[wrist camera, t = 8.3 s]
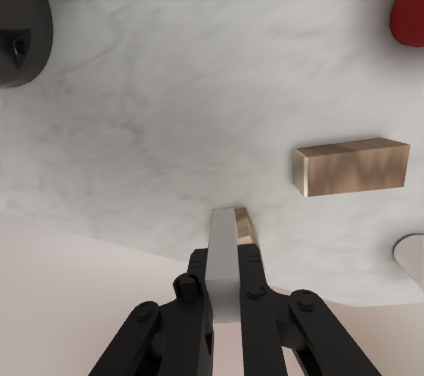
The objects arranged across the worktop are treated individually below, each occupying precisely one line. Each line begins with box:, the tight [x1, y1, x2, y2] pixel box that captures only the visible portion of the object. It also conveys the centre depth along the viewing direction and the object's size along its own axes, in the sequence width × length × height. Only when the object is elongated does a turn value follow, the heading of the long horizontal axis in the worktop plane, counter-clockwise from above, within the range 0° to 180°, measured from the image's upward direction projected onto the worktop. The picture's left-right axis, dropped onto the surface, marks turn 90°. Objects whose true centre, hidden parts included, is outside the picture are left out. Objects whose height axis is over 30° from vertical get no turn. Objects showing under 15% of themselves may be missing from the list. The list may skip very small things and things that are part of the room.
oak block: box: [208, 208, 265, 270], centre depth 29 cm, size 5×5×7 cm
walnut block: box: [293, 138, 410, 197], centre depth 26 cm, size 4×4×10 cm
